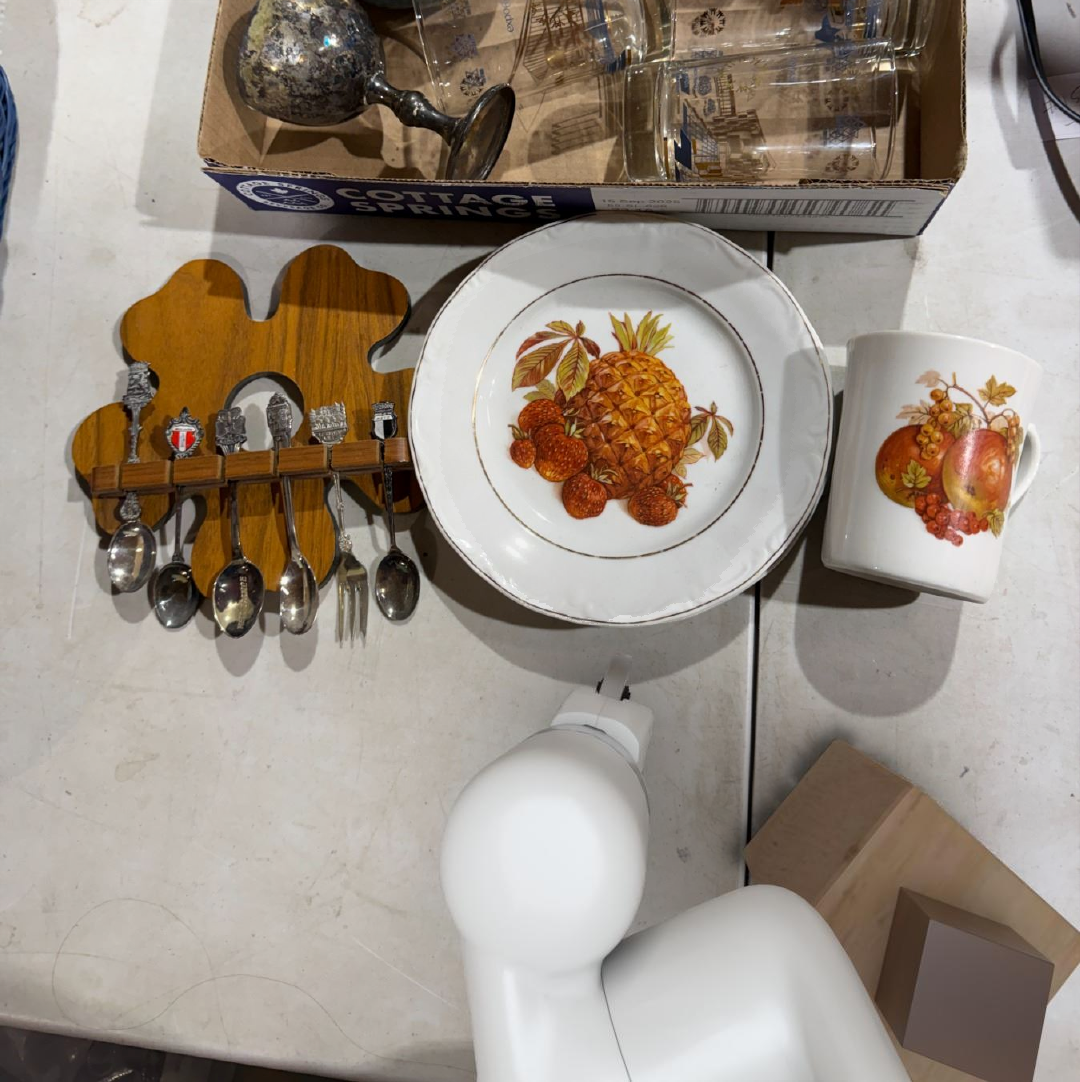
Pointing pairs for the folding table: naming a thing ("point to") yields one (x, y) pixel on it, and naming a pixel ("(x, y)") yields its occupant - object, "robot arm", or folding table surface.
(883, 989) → the walnut cube
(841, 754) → the wooden block
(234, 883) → the folding table surface
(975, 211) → the folding table surface
